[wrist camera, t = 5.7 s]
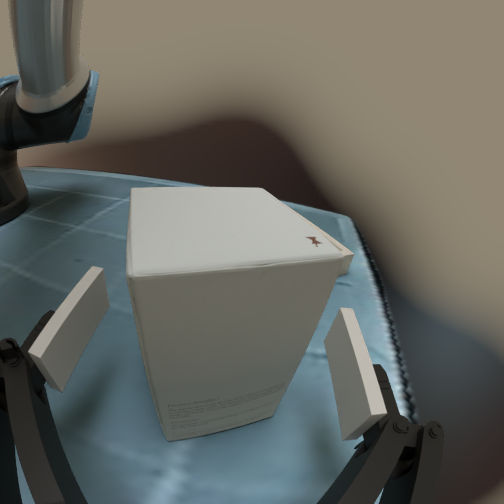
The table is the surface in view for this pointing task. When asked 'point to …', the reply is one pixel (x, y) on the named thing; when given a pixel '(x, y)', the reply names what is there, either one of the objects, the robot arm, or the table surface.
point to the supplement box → (222, 301)
